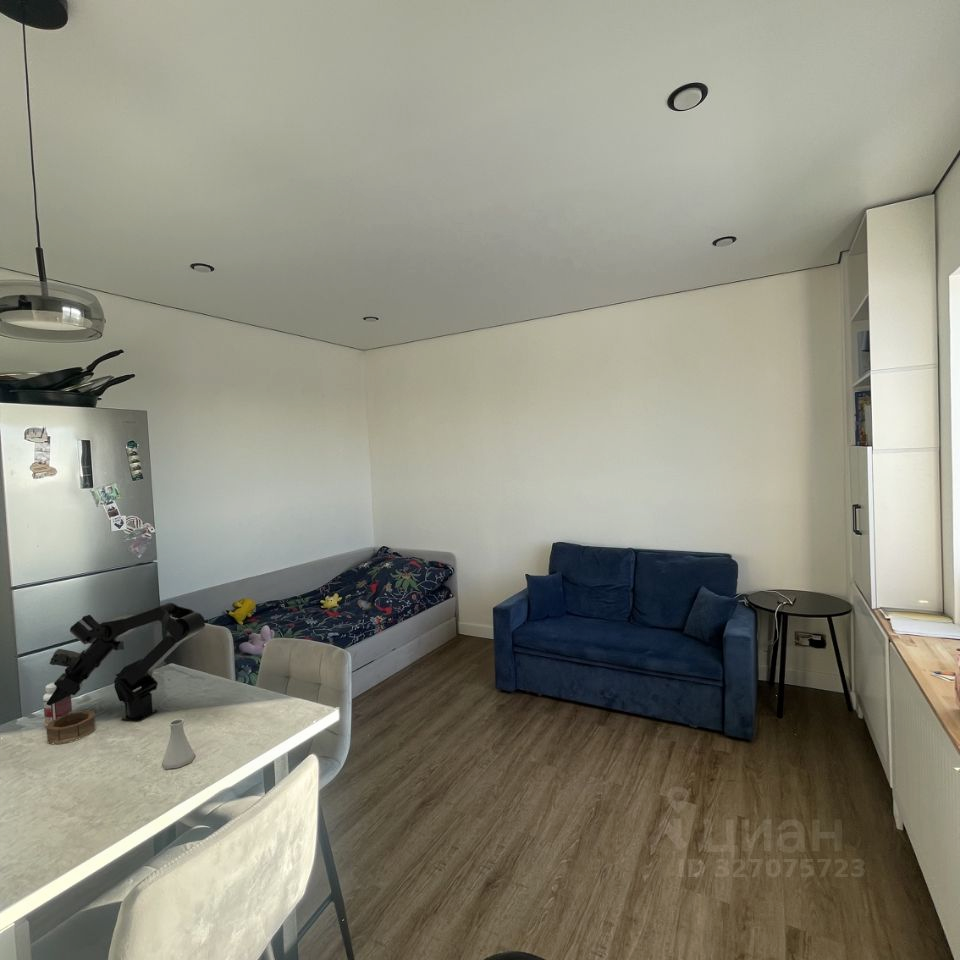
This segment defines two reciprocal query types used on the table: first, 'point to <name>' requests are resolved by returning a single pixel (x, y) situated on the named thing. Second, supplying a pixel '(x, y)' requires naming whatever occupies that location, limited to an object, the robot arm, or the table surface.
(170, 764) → the flask
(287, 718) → the table surface
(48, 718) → the pill bottle
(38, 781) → the table surface
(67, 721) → the bottle holder
